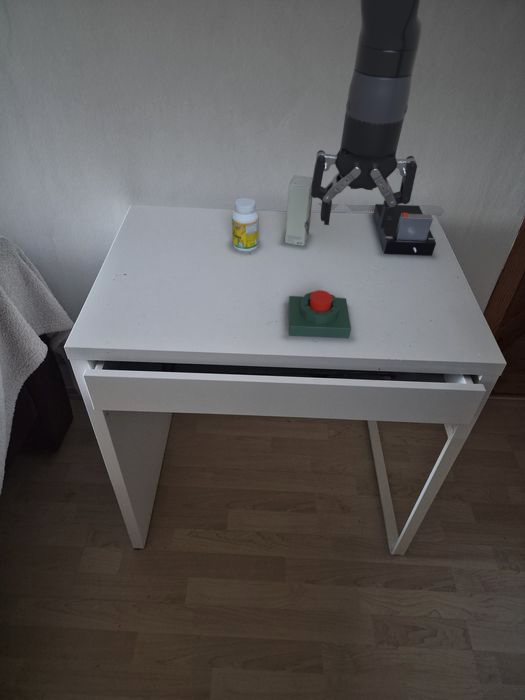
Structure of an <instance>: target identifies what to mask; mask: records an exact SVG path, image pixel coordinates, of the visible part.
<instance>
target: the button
mask: <svg viewBox="0 0 525 700" xmlns="http://www.w3.org/2000/svg"><path fill="white" fill-rule="evenodd" d="M312 292H313V293H312V294H311V296H310V303H309V305H310V307H311V309H313V310H316V311H321V312H325V311H328V310H329V309H330V308H331V303H332V296H331V295H332V294H331V293H330V292H328V291H325V290H322V289H321V290H320V289H319V290H314V291H312Z"/></svg>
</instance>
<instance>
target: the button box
mask: <svg viewBox="0 0 525 700" xmlns="http://www.w3.org/2000/svg"><path fill="white" fill-rule="evenodd" d="M313 292H314V291H311V292H308V293H305V294H304V295H303V296H300V295H299V296H298V295H290V296H289V297H288V337H305V338H307V337H309V338H310V337H311V338H314V337H315V338H334V339H349V338H350V335H351V330H352V326H351V320H350V314H349V309H348V307H349V306H348V301H347V298H345V297H336V296H335V295H334V294H331V296H332V303H331V308H330V309H329V310H328V311H325V312H321V311H316V310H313V309H311V307H310V305H309V303H310V296H311V294H312V293H313Z"/></svg>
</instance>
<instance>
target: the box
mask: <svg viewBox="0 0 525 700" xmlns="http://www.w3.org/2000/svg"><path fill="white" fill-rule="evenodd" d="M312 180H313V176H312V177H311V176H304V175H298V174H294V175H293V176H292V178H291V179H290V182H289V184H288V192H287V203H286V204H287V206H286V219H285V220H286V222H285V235H284V244H288V245H295V246H302V247H304V246H305V245H306V243H307V240H308V238H309V233H310V225H311V224H310V223H311V216H312V206H313V205H312V204H313V197H312V196H311V185H312Z"/></svg>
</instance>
